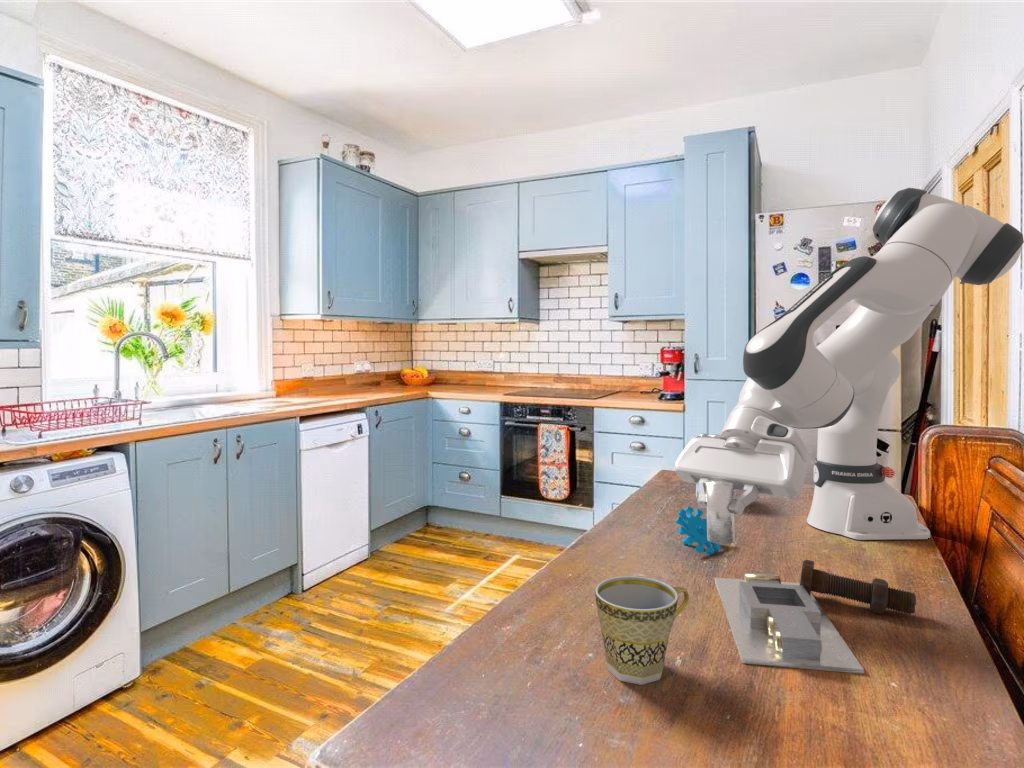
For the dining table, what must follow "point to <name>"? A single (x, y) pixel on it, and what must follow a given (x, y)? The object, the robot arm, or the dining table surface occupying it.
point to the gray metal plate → (782, 625)
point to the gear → (695, 530)
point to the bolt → (857, 590)
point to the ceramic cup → (637, 625)
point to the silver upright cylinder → (719, 511)
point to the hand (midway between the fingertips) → (718, 509)
